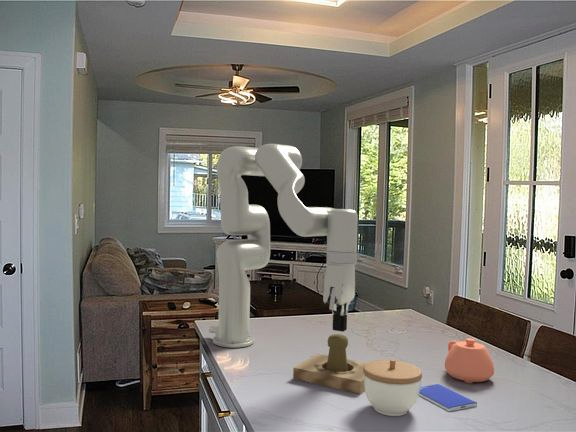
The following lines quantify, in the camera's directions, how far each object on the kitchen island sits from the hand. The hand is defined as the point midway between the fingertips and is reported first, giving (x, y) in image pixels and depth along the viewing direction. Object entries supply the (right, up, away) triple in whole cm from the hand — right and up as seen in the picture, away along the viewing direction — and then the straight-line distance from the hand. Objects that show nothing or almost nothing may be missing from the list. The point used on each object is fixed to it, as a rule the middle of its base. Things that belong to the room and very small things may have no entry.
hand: (339, 330), depth 139 cm
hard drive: (+23, -15, -11) cm, 30 cm away
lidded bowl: (+10, -14, -18) cm, 25 cm away
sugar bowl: (+34, -14, +5) cm, 37 cm away
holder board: (-1, -12, +1) cm, 12 cm away
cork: (-1, -13, +1) cm, 13 cm away
